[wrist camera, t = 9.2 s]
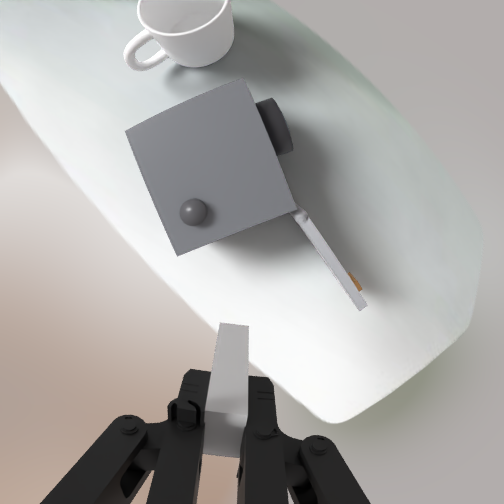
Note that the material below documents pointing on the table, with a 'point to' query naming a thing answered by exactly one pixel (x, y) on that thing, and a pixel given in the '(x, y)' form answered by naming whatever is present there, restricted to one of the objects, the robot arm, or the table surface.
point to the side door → (329, 257)
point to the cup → (183, 32)
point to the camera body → (214, 165)
